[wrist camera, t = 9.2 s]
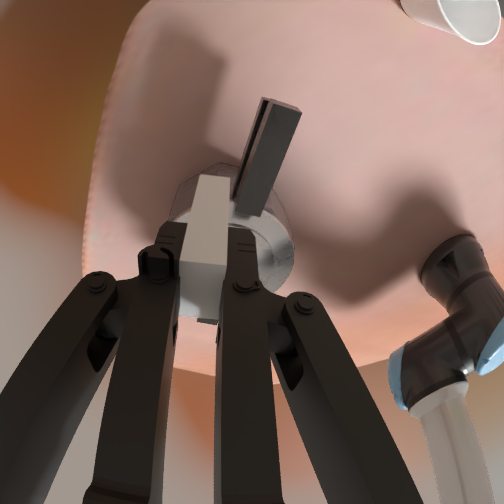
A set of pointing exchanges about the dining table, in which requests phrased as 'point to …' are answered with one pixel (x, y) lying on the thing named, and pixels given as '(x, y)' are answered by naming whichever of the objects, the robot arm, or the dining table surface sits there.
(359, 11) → the dining table surface
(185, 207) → the cooker pot
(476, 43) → the cup
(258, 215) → the lid
